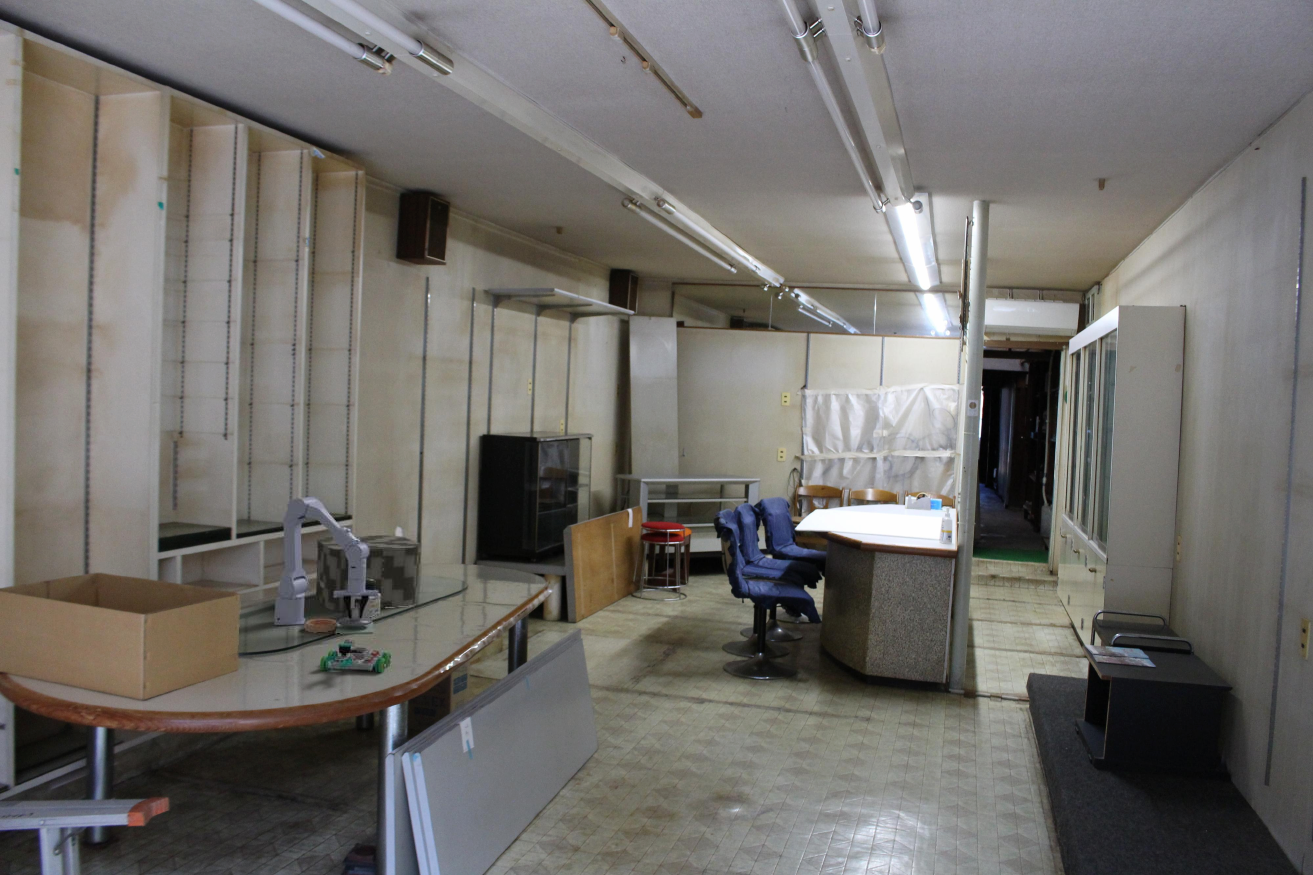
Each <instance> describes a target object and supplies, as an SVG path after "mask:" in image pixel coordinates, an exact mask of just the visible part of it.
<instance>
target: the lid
mask: <svg viewBox="0 0 1313 875" xmlns="http://www.w3.org/2000/svg"><path fill="white" fill-rule="evenodd" d="M372 622H373V619H372V617H371V618H368V617H362V618H360V608H351V619H349V616H346V617H341V618H339V619H338V621H337V623H338V624H340V625H344V626H363V625H368V624H371V623H372Z"/></svg>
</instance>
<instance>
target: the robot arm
mask: <svg viewBox="0 0 1313 875" xmlns="http://www.w3.org/2000/svg"><path fill="white" fill-rule="evenodd" d="M286 507H287V510H286V511H285V515H284V517H283V542H284V547H283V548H284V549H283V550H284V571H283V572H282V574H281V575H280V580H279V581H280V582H279V584H278V588H277V589H278V593H279V595H280V596H279V597H276V598H275V604H274V617H273V619H274V623H273V625H275V626H283V625H285V626H287V625H289V626H290V625H293V626H294V625H304V624H305V623H306V617H305V596H306V593H307V591H308V590H309V589H310V582H309V580H308V578H307V577H308V576H307V572H306V571H305V570H304V569H303V558H302V555H303V554H302V552H303V551H302V533H301V532H302V529H301V526H302V525H301V524H302V523H303V522H304V521H305V520H306V519H308V518H309V519H315V520H317V521H318V522H319V523H320V524H321V525H323V527H325V528H326V529H327V530H328V531H329V532H330V533H331V534H332V537H333V540H334V541H335V542H336V543H337V544H338V545H339V546H340V547H341V548H342V549H343V550H344V551H345V552H346V553H345V554H346V557H347V559H348V564H349V570H348V590H343V591H334V598H337V597H343V601H344V603H345V605H346V608H347V611H348V612H347V617H349V619H351V597H361V611H360V618H362V614H363V611H364V608H365V606H366V604H367V602H368V600H369V597H378V590H365V580H366V558H367V557H368V556H369V553H370V549H369V547H368V545H367V544H366V543H364V542H360V540H359V539H357V538H356V537H355V536H356V535H354V534H353V533H352V530H351V529H350V528H347V527H345V526H340V525H339V523H338V522H337V521H336V520H335V519H334V517H333V516H332V515H331V514H330V513H329V511H328V510H327V509H326V508H325V506H324V504H323V502H322V501H320V500H319V499H318V497H316V496H313V495H312V496H307V497H300V498H297V497H296V498H294V499H292V500H291V501H290V502H289V503H288V504H287V506H286Z"/></svg>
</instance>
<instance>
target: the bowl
mask: <svg viewBox="0 0 1313 875" xmlns="http://www.w3.org/2000/svg"><path fill="white" fill-rule="evenodd" d="M336 627H337V620H336V619H330V618H316V619H314V618H313V619H310V620H306V621H305V628H304V629H305V632H307V631H308V633H312V632H313V634H318V633H317V632H327V633H329V632H328V631H331V632H333V631H332V630H335V631H336V629H335V628H336Z"/></svg>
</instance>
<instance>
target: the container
mask: <svg viewBox="0 0 1313 875" xmlns="http://www.w3.org/2000/svg"><path fill="white" fill-rule="evenodd" d="M365 590H376V582H375V581H374V580H371V579H366V580H365ZM380 598H381V594H380V593H378V597H369V600H368V602H367V604H366V606H365V608H364V611H363V614H362V617H368V618H370V617H371V618H374V617H376V616H378V615H377V614H379V615H380V614H381V609H380ZM351 608H360V611H361V597H351ZM375 615H376V616H375ZM373 616H374V617H373Z"/></svg>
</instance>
